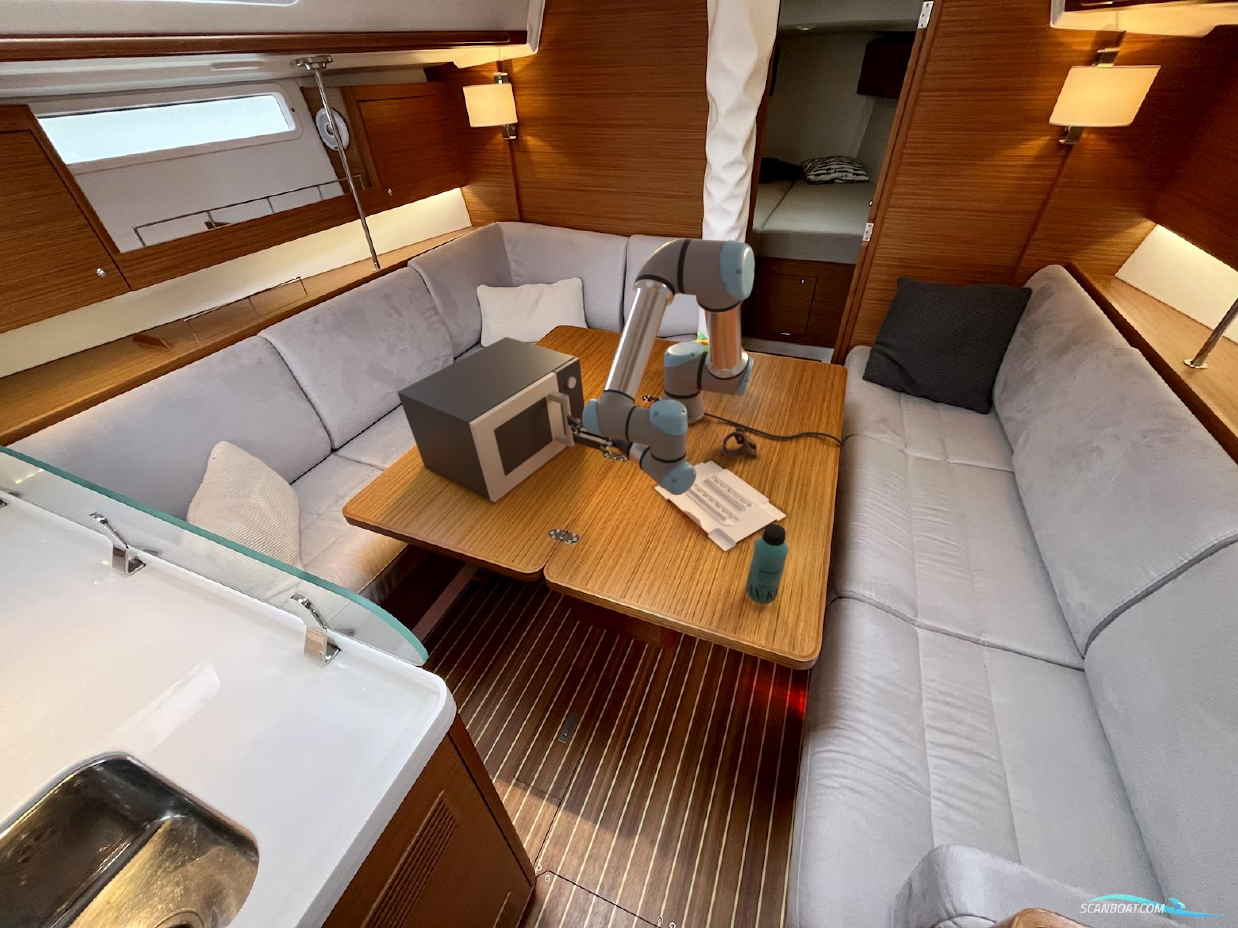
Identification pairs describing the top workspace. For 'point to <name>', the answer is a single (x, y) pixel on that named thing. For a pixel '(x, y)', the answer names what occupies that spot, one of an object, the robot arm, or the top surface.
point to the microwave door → (521, 435)
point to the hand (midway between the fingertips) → (591, 410)
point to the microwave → (480, 402)
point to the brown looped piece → (740, 439)
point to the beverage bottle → (767, 565)
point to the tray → (724, 505)
